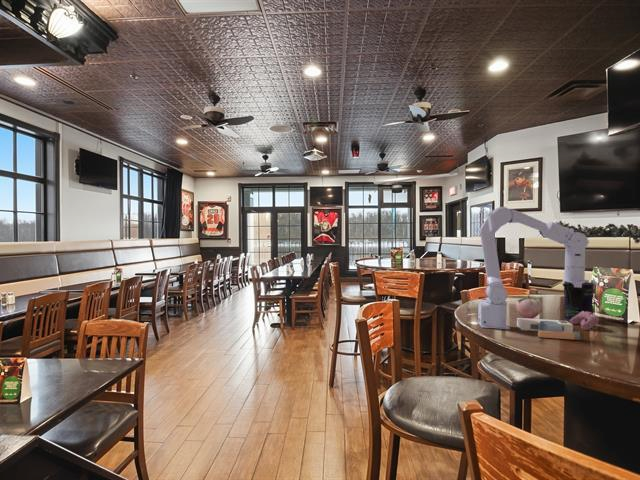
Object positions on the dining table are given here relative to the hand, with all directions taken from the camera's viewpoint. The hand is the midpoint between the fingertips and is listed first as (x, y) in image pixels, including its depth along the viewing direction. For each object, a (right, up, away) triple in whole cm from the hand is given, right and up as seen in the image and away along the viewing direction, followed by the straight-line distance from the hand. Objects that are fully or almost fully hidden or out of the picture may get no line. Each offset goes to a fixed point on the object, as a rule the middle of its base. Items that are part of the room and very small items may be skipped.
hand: (573, 305), depth 124 cm
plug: (-9, -10, -2) cm, 14 cm away
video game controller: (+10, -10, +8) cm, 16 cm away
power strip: (-8, -9, +4) cm, 13 cm away
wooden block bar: (-10, -9, -7) cm, 15 cm away
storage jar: (+16, -10, +20) cm, 27 cm away
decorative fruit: (-5, -9, +19) cm, 22 cm away
